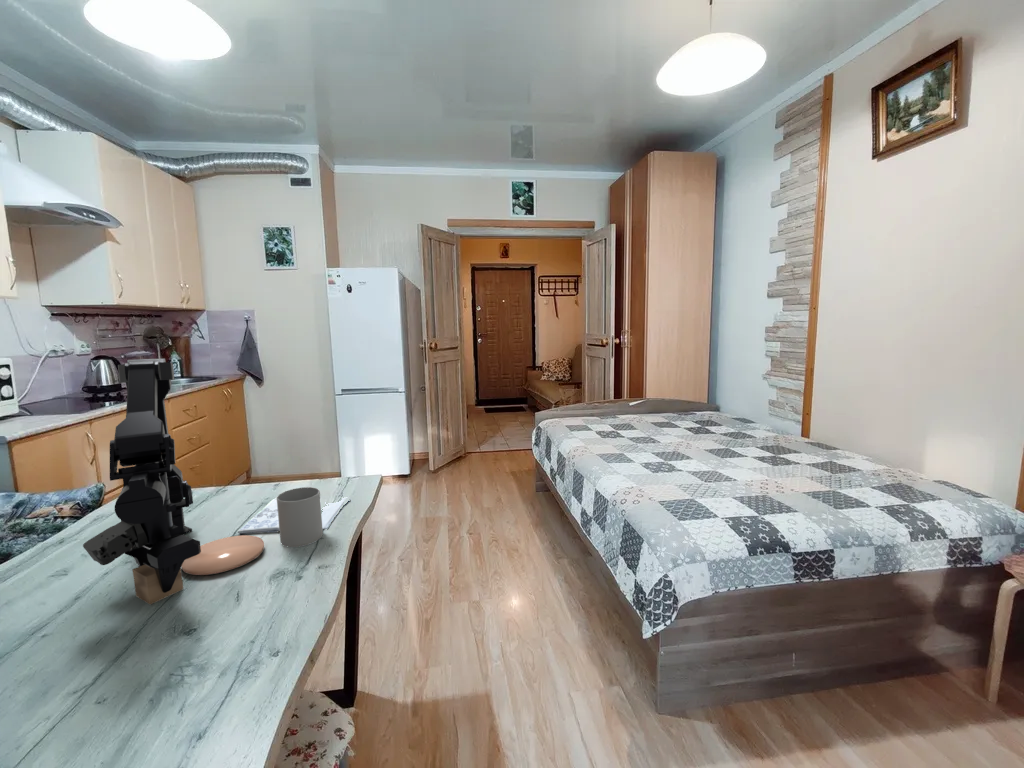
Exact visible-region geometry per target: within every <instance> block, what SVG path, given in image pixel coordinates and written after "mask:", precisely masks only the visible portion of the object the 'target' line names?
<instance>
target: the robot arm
mask: <svg viewBox="0 0 1024 768" xmlns="http://www.w3.org/2000/svg"><path fill="white" fill-rule="evenodd" d="M117 368H118V370H117V371H118V378H119V383H120V384H125V385H126V386H125V387H126V393H127V394H126V410H125V411H126V412H125V418H124V419H123V420H122V421H121V422H120V423H118V424H117V425H116V426H115V430H114V439H111V440H109V441H110V442H109V481H110V482H111V481H116V480H122V484H123V486H122V489H121V491H120V493H119V495H118V497H117V499H116V501H115V504H114V512H115V515H116V517H117V518H118V519H119V520H120V522H118V523H116V524H114V525H112V526H110V527H108V528H106V529H104V530H103V531H101V532H99V533H98V534H96V535H94V536H93V537H91V538H90V539H88V540H87V541H85V542H84V543H83V544H82V547H83V548H84V550H85V552H86V553H87V554H88V555H89V557H91V559H92V560H93V561H94V562H97V563H98V564H99V565H101V566H106V565H109V564H110V563H112V562H114V561H116V560H117V559H118V558H119V557H121V556H123V555H126V556H130V557H132V558H133V559H134V561H135V562H136V565H137V567H140V566H142V565H147V566H149V567H151V568H154V569H155V572H156V575H157V578H158V581H159V584H160V586H161V589H162V592H164V593H166V592H168V591H170V590H171V588H172V586H173V584H174V582H175V579H176V577H177V575H178V572H179V570H180V568H181V566H182V564H183V562H184V560H186V559H188V558H191V557H193V556H196V555H198V554H200V552H201V547H200V546H201V541H200V540H197V539H195V538H192V537H190V536H187V535H186V534H188V533H192V532H193V528H191V527H189V526H186V524H185V516H184V515H185V514H184V508H189V507H190V506H191V505H193V504H194V498H193V491H192V486H191V485H190V484H188V481H187V480H186V479H185V480H184V478H183V477H184V476H183V472H182V470H181V469H180V468H179V467H178V466H176V447H175V446H176V444H175V443H176V442H175V439H174V438H172V437H171V436H172V435H171V434H170V433H169V429H168V420H167V413H166V412H167V411H166V404H165V402H166V401H165V399H166V397H167V396H168V394H169V393H170V391H171V387H172V381H174V380H175V372H174V371H175V370H174V364H173V362H171V361H170V362H166V358H165V357H164V358H146V359H127V362H125V363H122V364H118V365H117ZM118 464H119V465H120V466H121V467H120V468H118ZM181 569H182V568H181Z"/></svg>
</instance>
